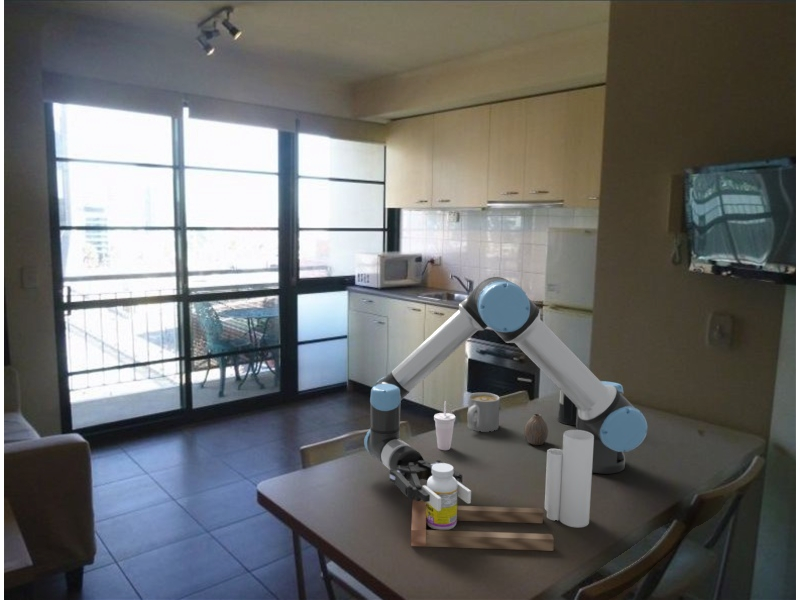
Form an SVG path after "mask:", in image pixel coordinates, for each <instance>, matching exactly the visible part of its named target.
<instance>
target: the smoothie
mask: <svg viewBox="0 0 800 600" xmlns="http://www.w3.org/2000/svg"><path fill="white" fill-rule="evenodd" d="M456 419H457V418H456V416H455V414H454V413H449V412H447V401H446V400H444V402H443V412H439V413H435V414H434V416H433V420H434V424H435V425H434V426H435V434H436V443H437V449H438V450H440V451H441V450H442V451H448V450H451V447H452V446H451V445H452V440H453V434H454V433H453V432H454V426H455V421H456Z"/></svg>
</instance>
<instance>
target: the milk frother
mask: <svg viewBox="0 0 800 600" xmlns="http://www.w3.org/2000/svg"><path fill="white" fill-rule="evenodd" d="M558 405H559V406H558V417H557V421H558V422H560V423H562V424H565V425H569V426H576V418H577V406H576V405H575V404H574V403H573V402H572V401H571V400H570V399H569V398H568V397H567V396H566V395H565V394H564V393H563V392H562V391H561V390H560V389H559V404H558Z"/></svg>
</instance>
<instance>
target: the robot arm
mask: <svg viewBox="0 0 800 600" xmlns="http://www.w3.org/2000/svg"><path fill="white" fill-rule="evenodd" d="M488 327H489V328H490V329H492V331H494V332H495V333H496V334H497V336H498V337H500V339H502V340H503V341H504V342H505V343H507V344H509V343H510V344H515V345H516V346H517V347H518V348H519V349H520V350H521V351H522V352H523V353H524V354H525V355H526V356H527V358H529V359H530V360H531V361H532V362H533V363H534V364H535V365H536V366H537V367H538V368H539V370H540V371H541V372H542V373H544V374H545V376H546V377H548V379H549V380H550V381H552V383H553V384H554V385H555V386H556V387H557V388H558V389H559V391H560V390H561V391H562V392H563V393H564V394H565V395H566V396H567V397H568V398H569V399H570V400H571V401H572V402H573V403H574V404H575V405H576V406H577V418H576V425H575V430H583V431H587V432H590V433H591V434H593V435H594V445H593V462H592V474H593V473H594V474H602V475H603V474H606V475H607V474H608V475H609V474H616V473H617V474H618V473H620V472H621V471H624V470H625V467H626V466H625V465H626V458H625V457H626V456H625V453H627V452H630V451H632V450H634V449H636V448H637V447H639V446H640V445H641V444H642V443H643V442H644V440H645V439H646V436H647V433H648V422H647V420H646V417H645V416H644V414H643V413H642V411H641V410H640V409H638V408H636V407H635V406H634V405H633V404H632V403H631V402H630V401H629V400H628V399H627V398H626V397H625V396H624V393H625V392H624V388H623V387H624V386H623V385H622V384H621V383H618V382H613V381H605V380H604V381H603V380H600V379H599V378H598V377H597V376H596V375H595V374H594V373H593V372H592V370H590V369H589V368H588V367H587V366H586V365H585V364H584V362H582V361H581V360H580V359H579V357H578V356H576V354H575V353H574V352H573V351H572V350H571V349H570V348H569V347H568V346H567V345H566V344H565V343H564V341H563V342H562V340H561V339H560V338H559V337H558V336H557V335H556V334H555V333H554V331H552V330H551V328H549V326H547V325H546V324H545V322H544V321H543V320H542V319H541V310H540V309H539V307H537V306H536V304H535V303H534V302H533V301H532V300H531V299H530V298H529V297H528V295H527V293H526V292H525V290H524V289H523V288H522V287H521V286H519V285H518V284H516V283H514V282H511V281H510V280H508V279H506V278H503V277H500V276H493V277H491V276H490V277H488V278H486V279H484V280H483V281H480V283H478V285H477V286H476V287H475V288H473V290H472V291H471V292H470V293H469V294H468V295H467V296H466V297H465V298H464V299H463V300H462V301H461V302H460V303H459V304H458V310H457V311H456V312H455V313H453V314H452V315H451V316H450V317H449V318H447V320H446V321H445V322H444V323H442V325H440V326H439V327H438V328H437V329H435V331H434V332H432V333H431V335H429V336H428V338H426V339H425V340H424V341H423V342H422V343H421V344H420V345H418V347H416V348H415V349H414V350H413V351H412V352H411V353H410V354H409V355H408V356H406V357H405V358H404V359H403V360H402V361H401V362H400V363H399V364H398V365H397V366H396V367H395V368H394V369H393V370H391V372H389V373H388V374H387V375H385V376H383V377H381V378H379V379H378V380H377V381H376V383H375V384H374V386H372V388H371V389H370V398H369V403H370V429H368V431H367V432H366V434H365V437H364V439H363V441H364V442H363V443H364V448H365V450H366V451H367V452H369V454H370V455H371V457H373V458H374V459H376V460H377V462H379V463H381V464H382V465H383V466H384V467H386V468H387V469H388V470H389V482H390V483H392V484H394V485H396V486H397V488H398V489H399V490H400V491H401V493H403V495H404V496H405V497H406V498H407V499H411V498H413V497H414V496H415V499H414V500H416V501H421V500H423V501H424V502H428V503H429V504H430V505H431V506H432V507H433V508H435V509H436V510H437V511H441V497H439V496H438V495H437V494H436V493H434V492H433V491H432V490H431V489H429V488H428V487H427V484H424V485H422V484H421V481H420V480H424V481H427V480H428V478H429V477H431V476H432V472H431V471H432V466H433V465H434V464H438V463H443V462H442V460H441V459H437V460H436V461H435V462H434V463H430V461H426V460H425V459H424V458H423V456H422V454H421V453H420V452H419V451H418V450H417V449H415V448H414V447H412V446H411V445H410V444H408V443H406V442H405V441H404V440H402V439H401V438H400V436H401V431H400V430H401V404H402V403H401V401H402V400H403V399H404V398H405V397H406V396H407V395H408V394H409V393H410V392H411V391H413V389H414V388H415V387H417V386H418V385H419V384H420V383H421V382H422V381H424V380H425V379H426V378H427V377H428V376H429V375H430V374H432V372H433V371H434V370H436V369H437V368H438V367H440V365H441V364H442V363H444V361H446V360H447V359H448V358H449V357H450V356H451V355H452V354H454V352H455V351H456V350H458V349H459V348H460V347H461V346H462V345H463V344H464V343H465V342H466V341H468V340H469V339H470V338H471V337H472V336H474V334H476V333H477V332H478V331H485V330H486V329H487V328H488ZM624 452H625V453H624ZM453 477H454V478H455V479H456V480H457V483H458V492H457V498H459V499H461V500H462V501H463V502H465V503H466V504H471V503H472V501H471V500H472V490H471V489H469V488H468V487H467V486H466V485H465V484H464V483H463V474H462V473H460V472H459V471H457V470H455V469H454V473H453Z"/></svg>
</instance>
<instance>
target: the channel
mask: <svg viewBox="0 0 800 600" xmlns="http://www.w3.org/2000/svg"><path fill="white" fill-rule="evenodd" d="M411 504H412V508H411V526H410V527H411V529H410V531H411V532H410V534H411V535H410V547H427V548H428V547H431V548H432V547H433V548H434V547H435V548H457V549H458V548H461V549H462V548H463V549H485V550H486V549H487V550H488V549H489V550H490V549H493V550H518V551H519V550H520V551H522V550H523V551H545V552H548V551H552V552H553V551H554V547H555V545H554V544H555V539H554V536H553V534H552V533H532V532H531V533H527V532H525V533H524V532H499V531H497V532H494V531H473V530H472V531H470V530H435V529H427V523H426V502H424V501H423V500H421V501H416V500H415V499H412V503H411ZM459 521H461V522H463V521H464V522H490V523H491V522H493V523H494V522H495V523H521V524H525V523H526V524H528V523H529V524H543V521H544V511H543V508H542V507H541V508H540V507H514V506H513V507H509V506H508V507H507V506H506V507H505V506H483V505H482V506H480V505H479V506H478V505H477V506H476V505H475V506H474V505H457V522H459Z"/></svg>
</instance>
